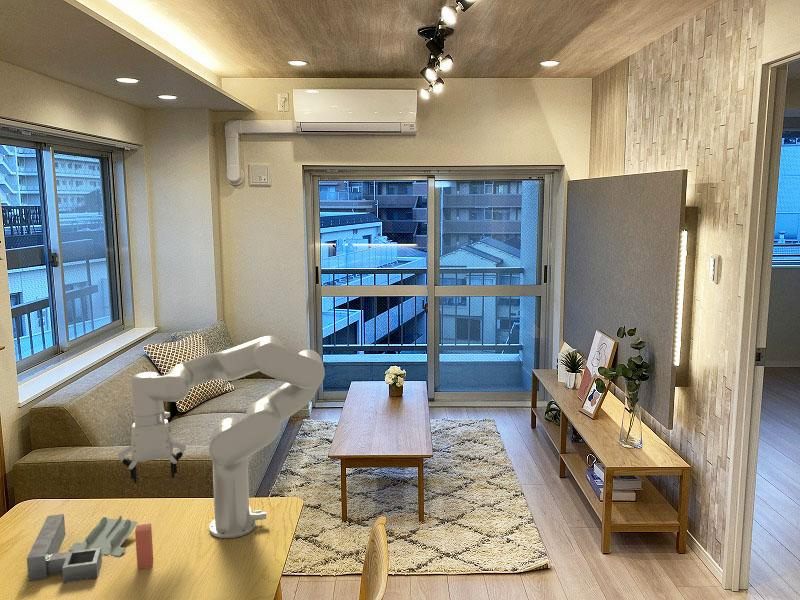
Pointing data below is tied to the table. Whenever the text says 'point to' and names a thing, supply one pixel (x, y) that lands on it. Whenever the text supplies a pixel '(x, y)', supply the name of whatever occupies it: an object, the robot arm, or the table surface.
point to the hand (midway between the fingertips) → (154, 478)
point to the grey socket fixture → (60, 555)
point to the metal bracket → (107, 536)
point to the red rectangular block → (144, 546)
